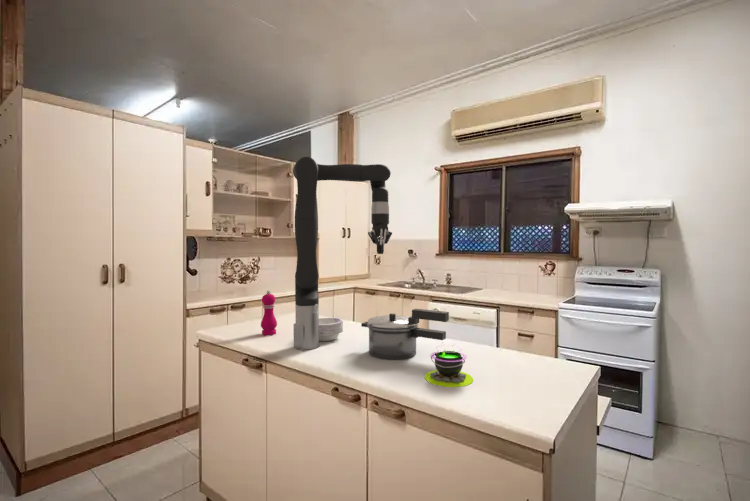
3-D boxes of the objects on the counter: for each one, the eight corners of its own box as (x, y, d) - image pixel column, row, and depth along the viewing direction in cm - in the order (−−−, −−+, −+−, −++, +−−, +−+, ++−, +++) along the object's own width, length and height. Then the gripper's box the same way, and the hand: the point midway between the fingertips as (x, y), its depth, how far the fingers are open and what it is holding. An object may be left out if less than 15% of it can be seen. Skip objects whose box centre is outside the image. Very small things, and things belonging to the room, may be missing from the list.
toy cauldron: (417, 382, 119) (417, 346, 118) (433, 367, 132) (434, 335, 132) (465, 391, 112) (466, 353, 111) (478, 374, 125) (478, 340, 125)
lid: (358, 325, 146) (358, 308, 145) (383, 316, 161) (383, 301, 161) (436, 336, 129) (436, 317, 129) (456, 325, 145) (456, 308, 145)
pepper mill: (274, 336, 175) (274, 291, 174) (258, 335, 175) (258, 291, 174) (279, 332, 182) (278, 289, 181) (263, 332, 182) (263, 289, 181)
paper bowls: (303, 336, 174) (303, 318, 173) (336, 332, 180) (336, 315, 180) (313, 345, 160) (313, 325, 160) (347, 340, 166) (347, 322, 166)
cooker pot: (350, 353, 148) (350, 324, 147) (377, 342, 164) (376, 316, 164) (433, 369, 130) (433, 336, 129) (454, 354, 146) (454, 325, 145)
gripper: (375, 212, 158) (375, 254, 159) (397, 213, 168) (397, 253, 168) (362, 212, 163) (362, 254, 164) (384, 214, 173) (384, 253, 173)
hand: (380, 253), depth 166 cm, fingers closed
